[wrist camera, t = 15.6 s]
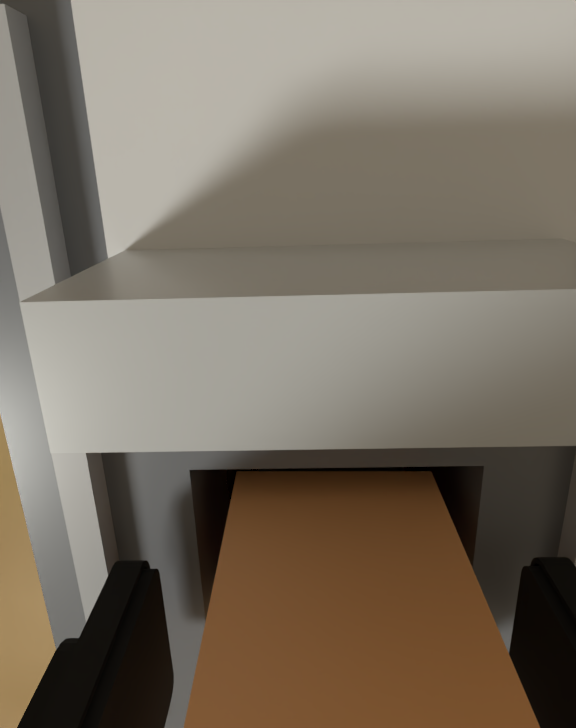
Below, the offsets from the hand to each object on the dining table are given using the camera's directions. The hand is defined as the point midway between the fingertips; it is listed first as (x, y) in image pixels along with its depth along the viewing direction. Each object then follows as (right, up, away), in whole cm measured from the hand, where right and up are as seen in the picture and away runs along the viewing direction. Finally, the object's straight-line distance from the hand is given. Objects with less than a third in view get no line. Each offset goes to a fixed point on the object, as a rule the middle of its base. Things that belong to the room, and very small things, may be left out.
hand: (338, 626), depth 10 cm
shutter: (0, +8, -2) cm, 9 cm away
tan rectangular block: (0, +2, +5) cm, 5 cm away
